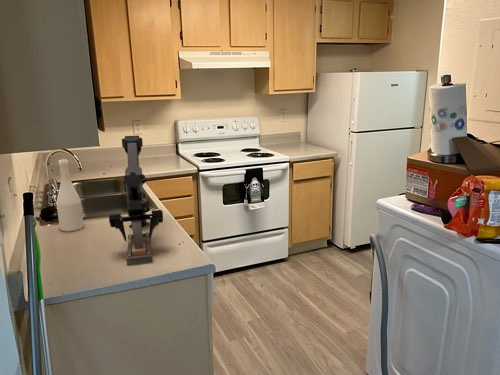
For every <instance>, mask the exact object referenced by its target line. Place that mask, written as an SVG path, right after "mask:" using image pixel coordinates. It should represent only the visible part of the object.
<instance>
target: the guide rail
mask: <svg viewBox="0 0 500 375" xmlns="http://www.w3.org/2000/svg"><path fill="white" fill-rule="evenodd" d="M142 236H143V243H146V255H144V256H136V257H132V244H134V240H133V233H131V234H130V233H129V234H128V235H127V254H126V258H125V259H126V266H136V265H142V264H150V263H153V258H152V257H153V256H152V244H151V243H152V242H151V239H150V236H149V231H148V232H142Z"/></svg>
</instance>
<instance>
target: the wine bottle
mask: <svg viewBox="0 0 500 375" xmlns="http://www.w3.org/2000/svg"><path fill="white" fill-rule="evenodd" d="M58 166H59V172H60V184H59V185H60V186H59V189H58V194H57V198H56V209H57V217H58V218H57V219H58V224H59V229H60V230H61V231H62V232H75V231H79V230H81V229H82V228H84V225H85V224H84V216H83V209H82V200H81V198H80V196H79V194H78V191H77V190H76V188H75V187H74V185H73V182H72V180H71V176H70V170H69V169H70V168H69V161H68V159H65V158H64V159H63V158H62V159H59V160H58Z"/></svg>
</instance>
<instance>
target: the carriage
mask: <svg viewBox="0 0 500 375" xmlns="http://www.w3.org/2000/svg"><path fill="white" fill-rule="evenodd" d="M131 224H132V227H131V228H132V234H133V240H134V244H132V257H136V256H144V255H146V243H143V236H142V233H143V228H142V224H141V220H135V221H132V223H131Z"/></svg>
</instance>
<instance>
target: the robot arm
mask: <svg viewBox="0 0 500 375" xmlns="http://www.w3.org/2000/svg"><path fill="white" fill-rule="evenodd" d="M143 143H144V142H143V138H142V137H140V135H124V137H123V138H122V139H121V146H122V149H123V148H124V152H125V153H126V155H127V167H126V168H125V170H124V174H125V175H123V177H122V178H123V180H122V182H123V186H125V189H126V190H125V191H126V195H127V196H126V197H127V199H126V206H127V207H126V208H127V209H126V210H127V215H128V216H127V215H126V216H122V215H121V213H119V212H118V213H110V215H108V222H109V226H110V228H115V229H116V230H119V232H120V233H121V234H122V237H123V240H124V242H127V234H126V230H125V225H124V223H125V222H131V223H130V225H128V227H129V228H132V221H135V220H141V224H142V229H143V228H144V227H146V226H148V225H149V231H148V232H149V236H150V240H151V239H152V237H153V233H154V230H155V228H156V226H158V225H159V224H160V223H164V212H163V210H162V209H154V210H153V209H152V210H151V209H150V201H148V197H146V194H145V193H144V190H143V186H144V184H145V183H146V182H147V177H146V176H145V174H143V168H141V166H140V162H139V160H140V159H139V156H140V154H141V152H142V147H143V146H144V145H143ZM150 210H151V211H150ZM149 212H151V213H149ZM146 213H147V214H146ZM148 213H149V214H148ZM147 220H149V222H147Z"/></svg>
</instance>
